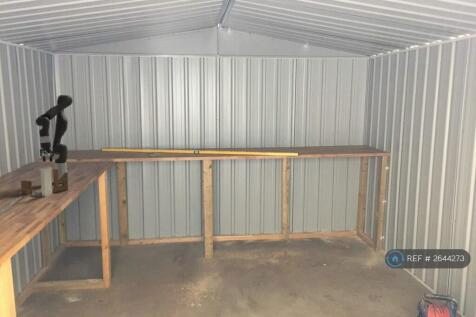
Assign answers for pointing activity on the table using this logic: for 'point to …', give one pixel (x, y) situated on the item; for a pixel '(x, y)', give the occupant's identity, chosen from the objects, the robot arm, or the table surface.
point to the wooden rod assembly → (63, 179)
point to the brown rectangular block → (26, 187)
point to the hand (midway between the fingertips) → (47, 161)
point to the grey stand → (45, 183)
